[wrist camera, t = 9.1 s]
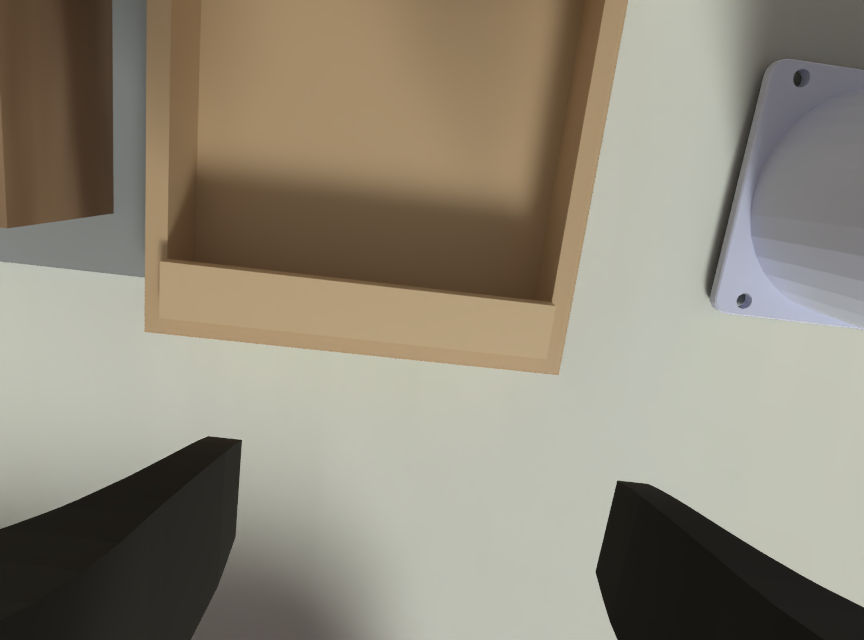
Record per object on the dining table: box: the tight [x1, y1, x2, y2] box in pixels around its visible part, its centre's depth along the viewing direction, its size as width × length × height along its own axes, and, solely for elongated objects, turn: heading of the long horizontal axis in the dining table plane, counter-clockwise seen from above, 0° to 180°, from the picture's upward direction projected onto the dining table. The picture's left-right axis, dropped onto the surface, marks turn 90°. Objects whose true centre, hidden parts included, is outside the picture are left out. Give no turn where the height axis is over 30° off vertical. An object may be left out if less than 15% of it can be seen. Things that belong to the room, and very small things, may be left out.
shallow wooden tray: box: [145, 0, 628, 375], centre depth 17 cm, size 12×14×3 cm
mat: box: [0, 0, 147, 277], centre depth 17 cm, size 7×12×1 cm, turn 173°
